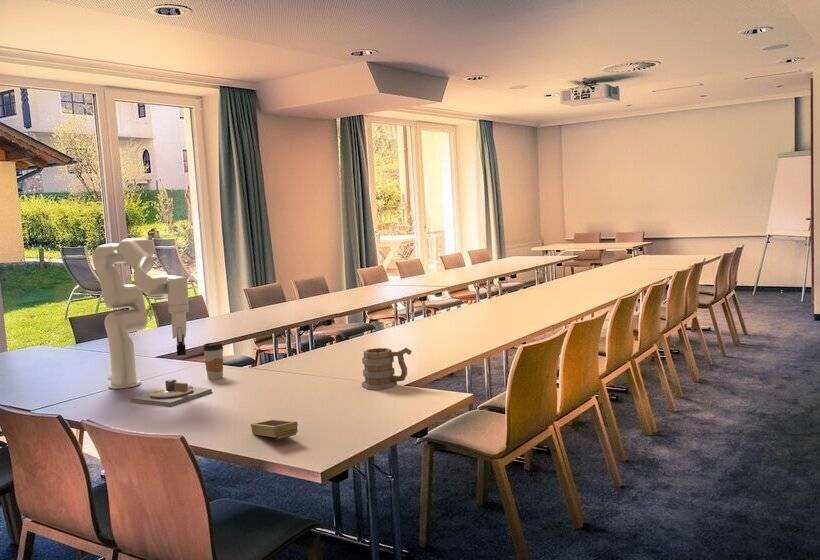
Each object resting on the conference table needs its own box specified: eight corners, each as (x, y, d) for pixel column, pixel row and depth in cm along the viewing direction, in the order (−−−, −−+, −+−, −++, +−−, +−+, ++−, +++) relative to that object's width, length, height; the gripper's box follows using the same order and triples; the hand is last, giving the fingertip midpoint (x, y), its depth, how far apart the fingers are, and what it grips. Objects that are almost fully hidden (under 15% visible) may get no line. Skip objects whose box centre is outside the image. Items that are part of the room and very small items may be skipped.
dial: (140, 396, 265) (139, 383, 264) (174, 386, 278) (173, 374, 278) (170, 399, 256) (169, 387, 256) (203, 389, 270) (202, 377, 270)
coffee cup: (210, 381, 292) (207, 346, 291) (202, 378, 299) (199, 344, 297) (228, 377, 298) (226, 343, 296) (220, 375, 304) (217, 341, 303)
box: (275, 444, 198) (273, 426, 199) (246, 439, 217) (244, 423, 217) (301, 438, 203) (299, 421, 203) (270, 434, 221) (269, 418, 222)
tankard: (358, 389, 265) (355, 350, 263) (370, 381, 277) (368, 344, 275) (407, 391, 258) (405, 351, 257) (417, 382, 270) (416, 345, 269)
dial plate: (131, 402, 263) (130, 397, 263) (173, 389, 282) (172, 384, 282) (171, 406, 253) (170, 401, 253) (211, 392, 272) (211, 388, 272)
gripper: (169, 306, 274) (171, 352, 275) (167, 311, 259) (170, 359, 261) (188, 305, 276) (191, 350, 278) (188, 310, 262) (191, 357, 263)
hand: (181, 354), depth 269 cm, fingers closed
